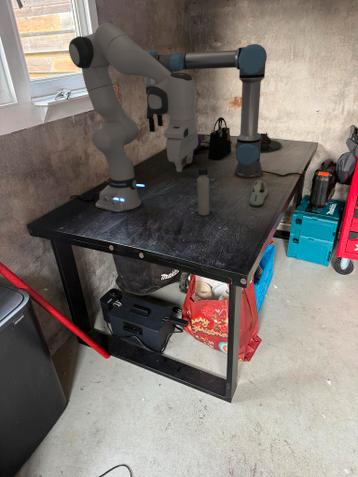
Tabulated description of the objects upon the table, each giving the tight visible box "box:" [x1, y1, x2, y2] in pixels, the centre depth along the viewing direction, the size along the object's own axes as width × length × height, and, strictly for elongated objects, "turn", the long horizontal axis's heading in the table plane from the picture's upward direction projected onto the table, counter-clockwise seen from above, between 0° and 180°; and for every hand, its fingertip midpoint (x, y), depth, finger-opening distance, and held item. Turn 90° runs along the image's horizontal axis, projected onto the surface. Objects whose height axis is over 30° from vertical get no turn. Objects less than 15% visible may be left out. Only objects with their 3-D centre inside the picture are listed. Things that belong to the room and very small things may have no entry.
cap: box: [198, 167, 209, 176], centre depth 139 cm, size 4×4×2 cm
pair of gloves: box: [199, 134, 233, 149], centre depth 250 cm, size 30×26×5 cm
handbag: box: [207, 116, 232, 161], centre depth 217 cm, size 21×9×25 cm, turn 148°
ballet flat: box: [249, 179, 269, 207], centre depth 158 cm, size 8×24×8 cm, turn 163°
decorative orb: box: [193, 134, 202, 154], centre depth 230 cm, size 15×15×15 cm
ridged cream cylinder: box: [196, 175, 211, 216], centre depth 144 cm, size 5×5×20 cm
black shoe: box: [235, 132, 282, 154], centre depth 237 cm, size 32×35×9 cm
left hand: (184, 166), depth 117 cm, fingers open, 8 cm apart
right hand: (156, 128), depth 177 cm, fingers open, 13 cm apart
